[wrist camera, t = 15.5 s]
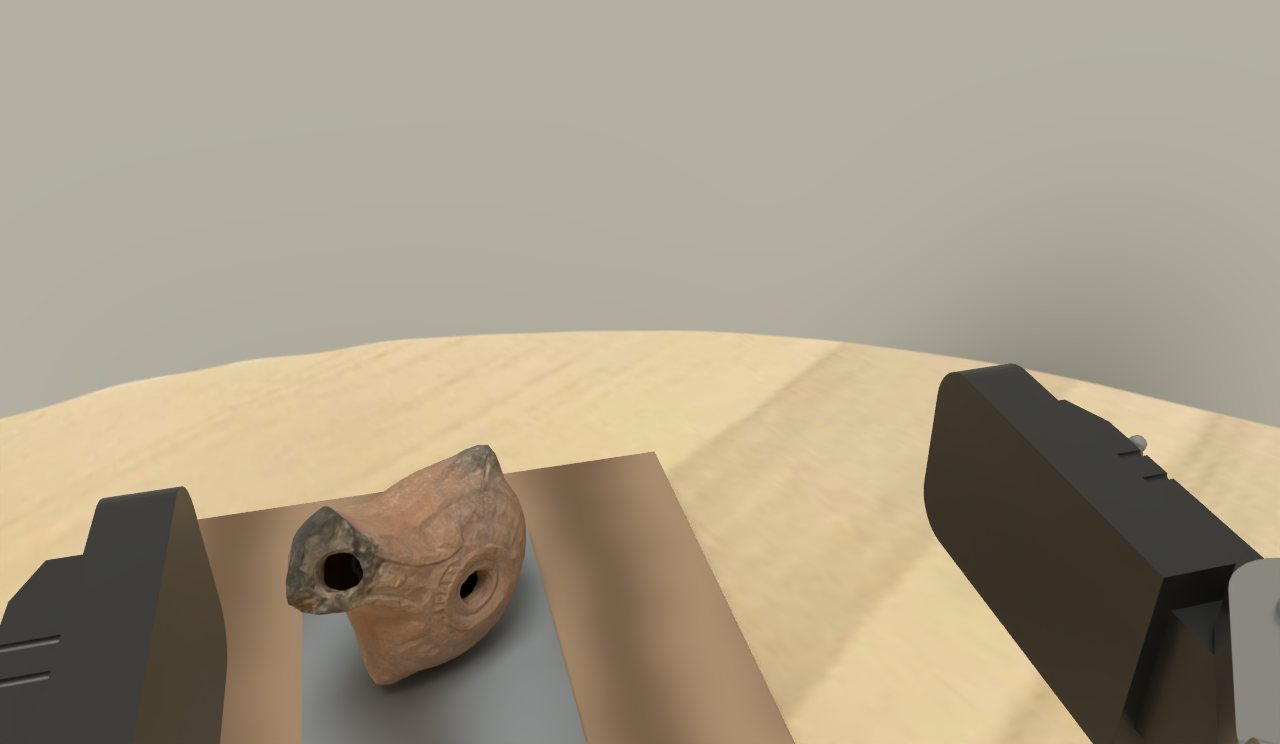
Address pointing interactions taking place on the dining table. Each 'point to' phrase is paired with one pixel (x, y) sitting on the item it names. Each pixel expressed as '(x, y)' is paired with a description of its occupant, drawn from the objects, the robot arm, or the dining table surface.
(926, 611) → the dining table surface
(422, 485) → the oil lamp
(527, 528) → the wooden block
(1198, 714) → the robot arm
